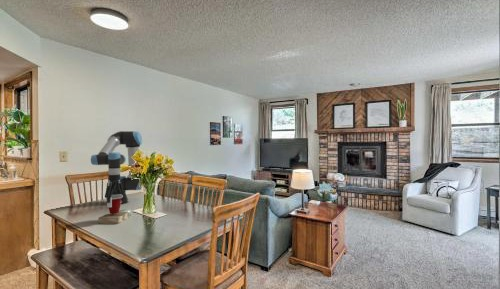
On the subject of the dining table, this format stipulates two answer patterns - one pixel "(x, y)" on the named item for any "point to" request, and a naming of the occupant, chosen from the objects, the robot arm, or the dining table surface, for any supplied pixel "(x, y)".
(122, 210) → the pale green ball
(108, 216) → the maple open box
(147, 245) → the dining table surface
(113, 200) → the plastic cup
